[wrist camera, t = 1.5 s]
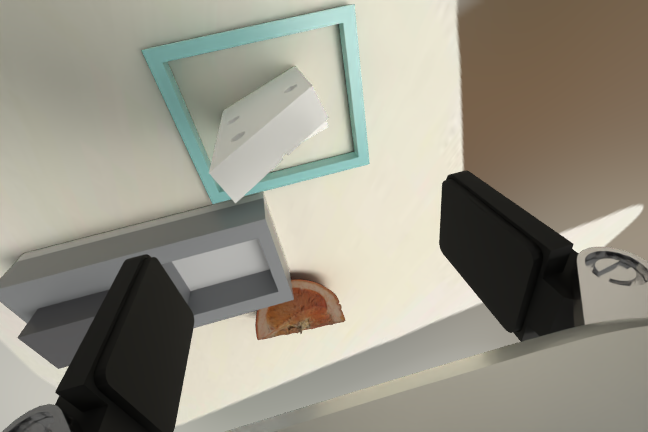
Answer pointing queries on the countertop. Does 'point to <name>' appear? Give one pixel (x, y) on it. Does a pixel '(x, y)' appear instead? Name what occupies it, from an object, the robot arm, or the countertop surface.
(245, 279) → the grey slotted holder
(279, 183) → the tray frame
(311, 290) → the fruit slice
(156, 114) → the countertop surface
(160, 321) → the robot arm
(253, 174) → the white angled block
